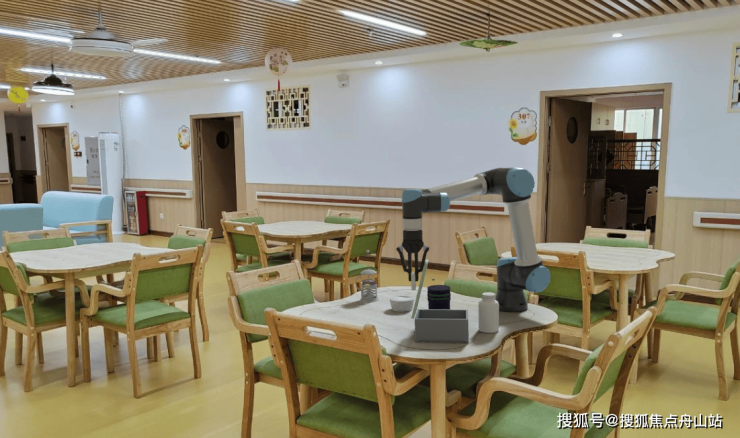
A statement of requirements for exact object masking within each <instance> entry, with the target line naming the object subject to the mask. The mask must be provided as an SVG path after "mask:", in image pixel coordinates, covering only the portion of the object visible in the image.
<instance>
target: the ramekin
mask: <svg viewBox="0 0 740 438" xmlns="http://www.w3.org/2000/svg"><path fill="white" fill-rule="evenodd" d="M389 302H390V308H391V310H392V311H394V312H398V313H404V312H405V313H406V312H410V311H413V309H414V303H415V298H414V297H413V296H409V295H396V296H392V297H390V298H389Z"/></svg>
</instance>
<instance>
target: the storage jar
mask: <svg viewBox="0 0 740 438" xmlns="http://www.w3.org/2000/svg"><path fill="white" fill-rule="evenodd" d="M431 281H435V279H434V278H432V279H431ZM426 289H427V292H426V293H427V294H426V296H427V298H426V300H427V301H428V302H427V303H428V304H427V307H428V309H451V300H452V297H451V296H452V294H451V286H449V285H446V284H445V285H444V284H433V285H429V286H427V288H426Z"/></svg>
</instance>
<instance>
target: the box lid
mask: <svg viewBox="0 0 740 438" xmlns="http://www.w3.org/2000/svg"><path fill="white" fill-rule="evenodd" d="M429 261H430V260H429V259H425V263H424V267H423V271H422V272H421V277H420V281H419V284H418V289H417V293H416V298H415V300H414V304H413V308H412V313H411V314H412V315H411V317H410V318H411V319H413V320H415V316H416V313H417V310H418V306H419V303H420V297H421V293H422V289H423V286H424V280H425V276H426V274H427V273H426V272H427V268H428V264H429Z"/></svg>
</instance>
